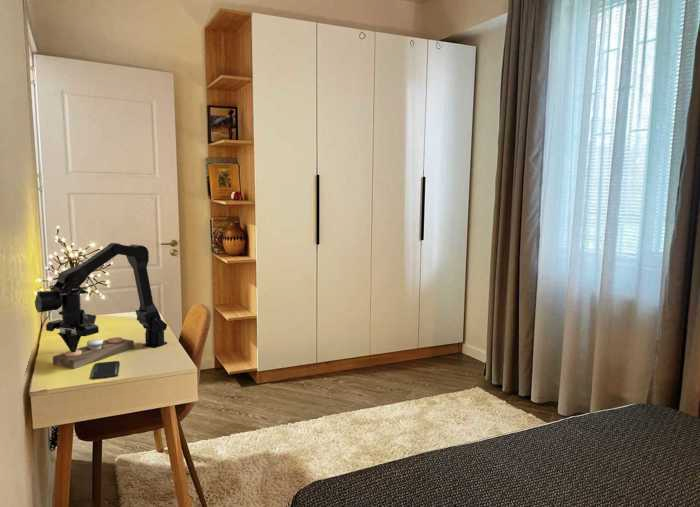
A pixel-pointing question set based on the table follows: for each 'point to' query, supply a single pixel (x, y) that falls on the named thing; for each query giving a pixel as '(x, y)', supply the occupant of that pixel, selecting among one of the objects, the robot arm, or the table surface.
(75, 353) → the knob
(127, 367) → the table surface
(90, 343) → the middle knob
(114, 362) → the phone
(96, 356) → the knob mount
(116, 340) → the knob
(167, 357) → the table surface
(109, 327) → the table surface
